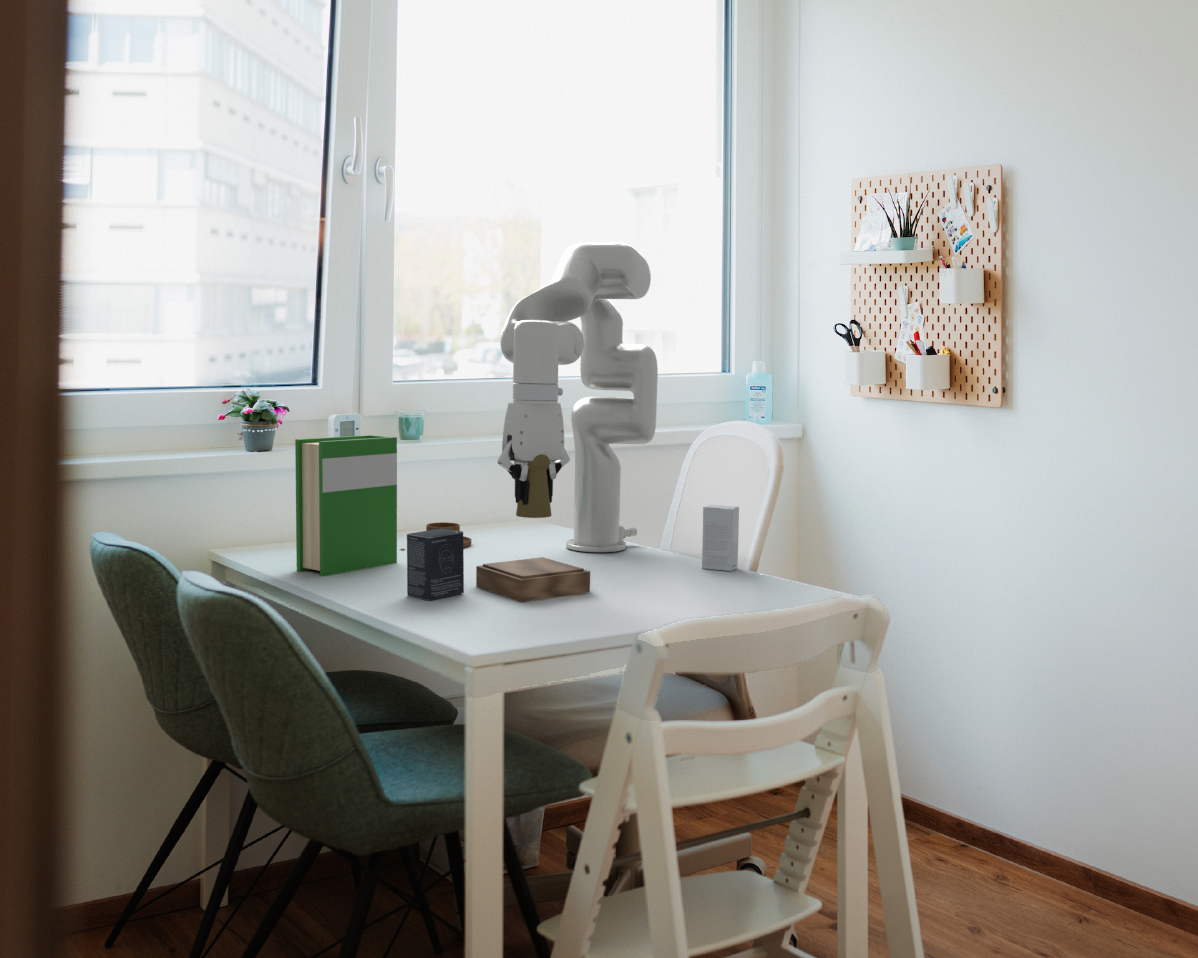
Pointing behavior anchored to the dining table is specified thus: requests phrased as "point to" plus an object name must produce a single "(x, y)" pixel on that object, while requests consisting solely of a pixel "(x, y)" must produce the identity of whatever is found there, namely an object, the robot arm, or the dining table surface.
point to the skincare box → (720, 537)
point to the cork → (536, 490)
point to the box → (435, 564)
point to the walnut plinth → (532, 579)
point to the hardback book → (346, 503)
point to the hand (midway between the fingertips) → (533, 501)
